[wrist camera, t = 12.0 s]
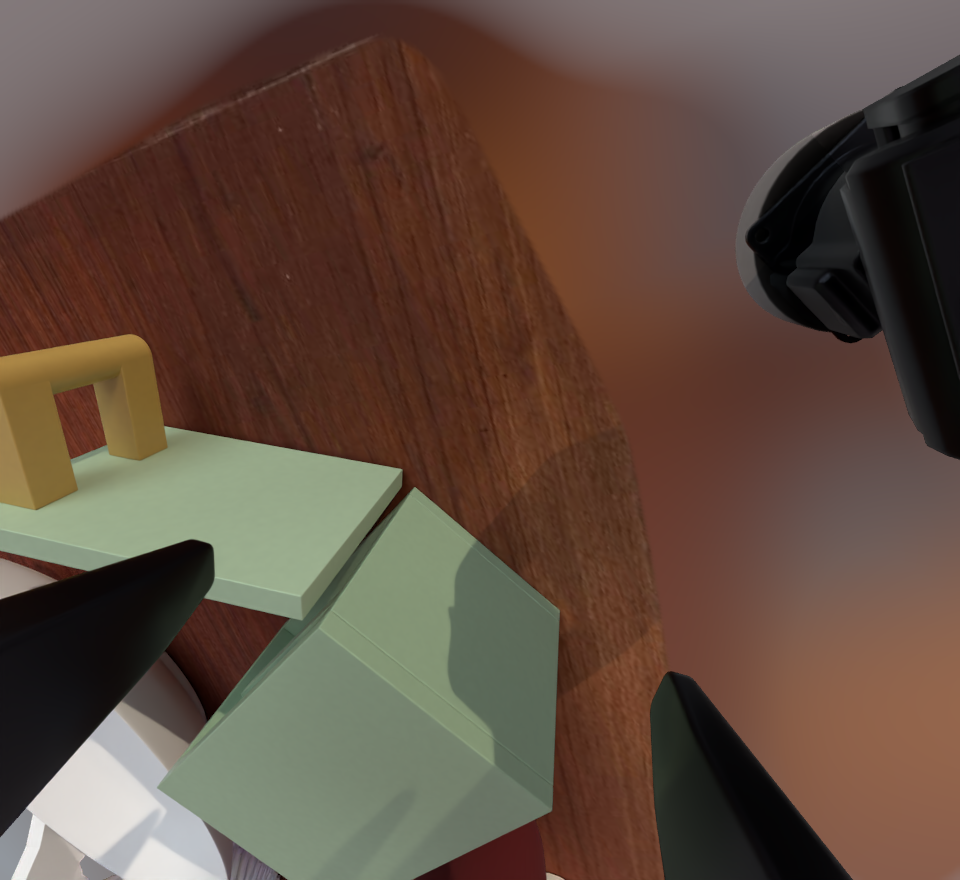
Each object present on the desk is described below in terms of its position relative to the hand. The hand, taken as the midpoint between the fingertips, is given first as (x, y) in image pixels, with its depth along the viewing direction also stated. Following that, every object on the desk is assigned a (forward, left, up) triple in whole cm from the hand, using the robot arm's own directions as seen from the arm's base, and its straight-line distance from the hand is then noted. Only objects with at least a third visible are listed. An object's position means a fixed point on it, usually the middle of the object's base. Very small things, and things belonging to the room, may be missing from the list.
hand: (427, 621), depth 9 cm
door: (+8, -9, -13) cm, 17 cm away
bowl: (+32, -6, -13) cm, 36 cm away
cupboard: (+13, +4, -13) cm, 19 cm away
